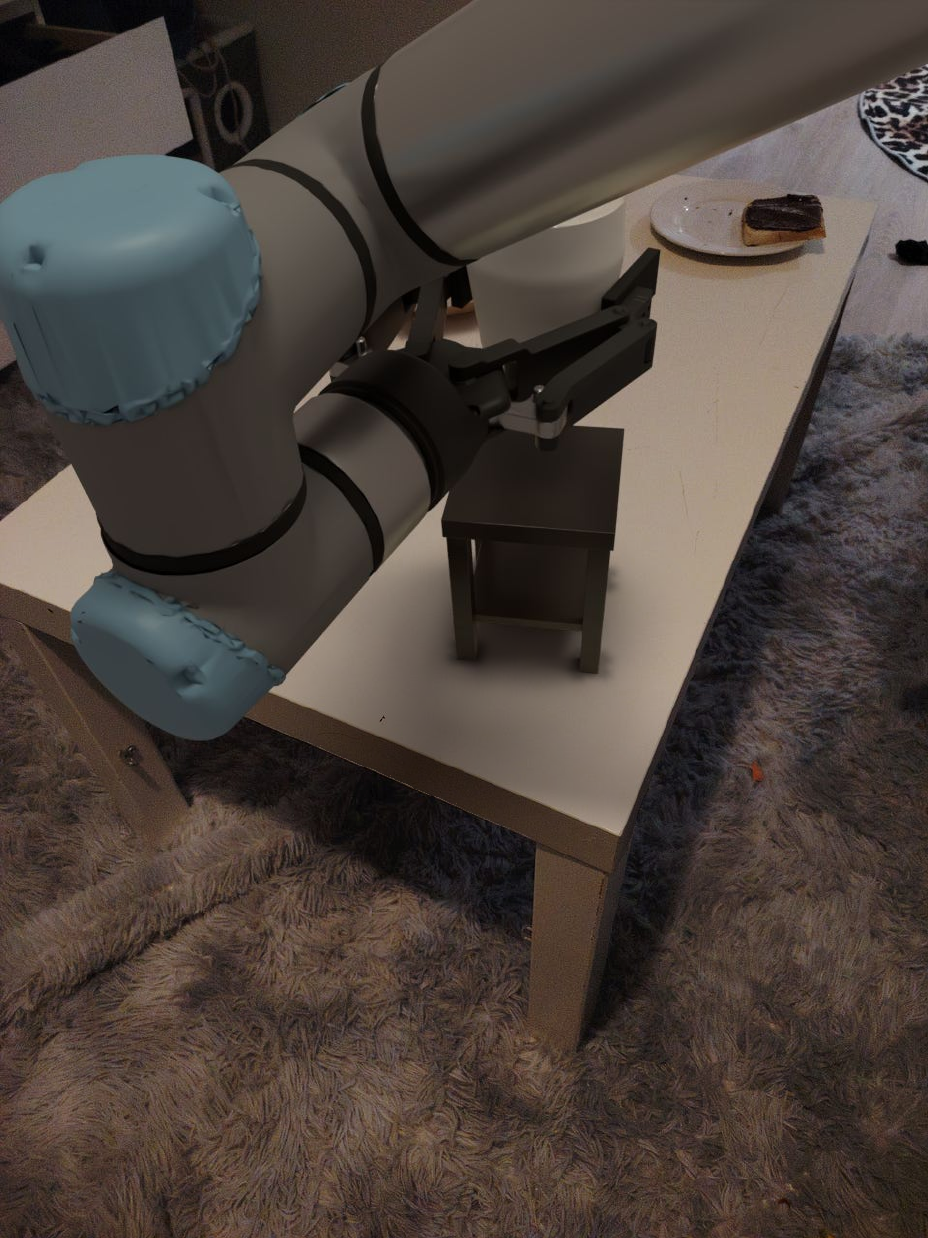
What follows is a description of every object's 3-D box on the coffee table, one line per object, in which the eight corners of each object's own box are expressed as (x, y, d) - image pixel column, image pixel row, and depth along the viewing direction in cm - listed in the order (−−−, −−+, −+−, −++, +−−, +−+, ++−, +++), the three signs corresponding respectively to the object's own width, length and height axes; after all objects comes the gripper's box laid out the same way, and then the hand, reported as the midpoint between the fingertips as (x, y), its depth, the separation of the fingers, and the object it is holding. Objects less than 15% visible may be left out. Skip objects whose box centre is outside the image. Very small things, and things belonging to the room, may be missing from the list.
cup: (643, 392, 55) (665, 196, 47) (527, 446, 52) (527, 246, 44) (554, 334, 61) (559, 147, 52) (444, 379, 58) (429, 189, 49)
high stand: (610, 571, 72) (624, 427, 62) (600, 675, 65) (615, 533, 55) (476, 559, 74) (469, 418, 64) (453, 660, 67) (440, 519, 56)
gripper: (214, 459, 48) (431, 278, 61) (576, 591, 40) (740, 351, 53) (174, 334, 43) (422, 163, 56) (585, 458, 35) (765, 225, 47)
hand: (577, 255), depth 54 cm, fingers closed on cup, 9 cm apart
